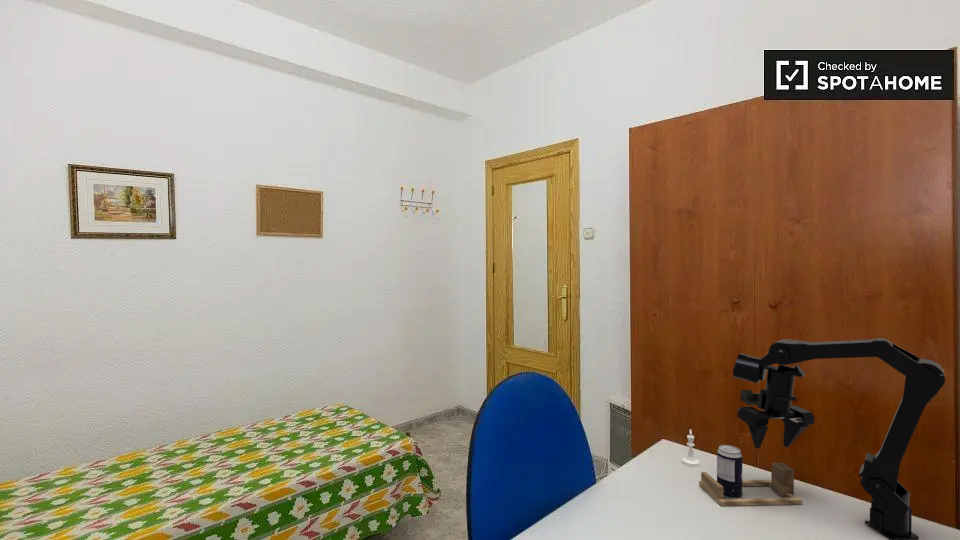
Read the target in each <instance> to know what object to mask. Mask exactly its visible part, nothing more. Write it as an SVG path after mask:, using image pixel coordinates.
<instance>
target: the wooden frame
mask: <svg viewBox="0 0 960 540" xmlns="http://www.w3.org/2000/svg"><path fill="white" fill-rule="evenodd" d="M770 463H771V462H770ZM770 466H771V470H770V471H771V477H770V478H771V479H742V487H761V486H762V487H763V486H764V487H766V486H769V487H771V491H773V492H774V493H776V494H777V495H778V496H779V497H765V498H764V497H762V498H761V497H759V498H757V497H756V498H738V499H728V498H724V497H723V486H722V485H720V484H719V483H718V482H717V479H715V478H713V477H712V476H711V475H710V474H709V473H708V472H706V471H701V473H700V474H701V475H700V476H701V477H700V479H701V480H699V481H698V485H699V486H700V487H701V488H702V489H703V490H704V491H705V492H706V493H707V494H708V495H709V496H710V497H711V498H712V499H713V500H715V502H717V503H718V504H719V505H720V506H722V507H723V506H724V507H726V506H727V507H728V506H729V507H731V506H735V507H737V506H773V505H774V506H775V505H778V506H779V505H781V506H782V505H803V499H801V497H796V496H795V492H794V491H795V469H793V468H792V467H791V466H789V465H787V464H785V463H784V462H772V463H771V465H770Z"/></svg>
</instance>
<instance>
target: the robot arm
mask: <svg viewBox="0 0 960 540" xmlns="http://www.w3.org/2000/svg"><path fill="white" fill-rule="evenodd" d="M850 358H851V359H853V358H878V359H880V360H881V361H882V362H884V363H886V364H887V365H888V366H890V367H892V369H894V370H895V371H897V372H898V373H900V374H902V375H903V376H905V378H904V379H905V380H904V388H903V393H902V394H903V395H902V398H901V400H900V402H899V405H898V406H897V407H898V408H897V409H896V412H895V414H894V416H893V419H892V421H891V423H890V426H889V429H888V431H887V432H886V433H887V434H886V435H885V438H884V440H883V442H882V444H881V446H880V447H881V448H880V449H879V451H878V452H876V453H875V455H873V454H872V453H870V452H866V455H865V458H864V463H863V464H862V465H861V466H860V469H859V473H858V476H859V477H861V479H860V480H861V481H860V484H861V485H860V486H862V488H863V489H864V491H865V492H866V493H867V494H868V495H869V496H871V498H872V499H871V501H870V502H871V503H870V507H869V520H864V524H865V525H866V526H868V527H870V528H871V529H873V530H875V531H876V532H877V533H879V534H881V535H882V536H884V537H885V538H887V539H889V540H920V537H919V535H917V534H915V533H914V532H912V523H913V522H912V520H913V519H912V514H913V513H912V509H913V508H912V506H910V498H911V492H910V491H909V490H908V489H907V488H906V487H904V485H902V483H900V482H899V475H900V474H899V473H900V467H901V462H902V460H903V458H904V455H905V453H906V451H907V449H908V446H909V444H910V441H911V439H912V437H913V435H914V433H915V430H916V429H917V426H918V424H919V421H920V419H921V416H922V414H923V412H924V409H925V407H927V405H929V403H930V402H931V401H932V400H933V399H934V398H935V396H936V395H937V394H938V393H939V392H940V391H941V389H942V388H943V386H944V385H945V382H946V374H945V370H944V368H943V367H942V365H940V364H939V363H938V362H936V361H934V360H932V359H927V358H921V357H918V356H917V355H916V354H913V353H912V352H910V351H908V350H906V349H904V348H902V347H900V346H898V345H896V344H895V343H893V342H892V341H890V340H889V339H888V338H883V337H877V338H873V339H871V338H870V339H869V338H868V339H854V340H836V341H817V342H815V341H814V342H812V341H806V340H798V339H788V338H787V339H786V338H784V339H780V340H777V341H775V342H774V343H772V344H771V345H770V346H769V348H768V353H767V354H765V355H763V356H761V358H760V357H756V356H752V355H748V354H747V353H738V354H737V359H736V361H735V363H734V366H733V370H732V376H733V378H735V379H740V380H742V381H747V382H751V383H755V384H760V382H761V381H762V382H764V381H765V379H766V383H765V384H766V385H765V388H761V389H760V391H759V392H753V391H752V389H741V390H740V391H741V392H740V394H739V395H740V396H739V397H740V400H741V402H743V403H745V406H740V407H739V408H737V415H736V417H737V418H739V419H740V420H741V421H742V422H744V423H745V424H746V425H747V426H748V429H749V431H750V436H751V439H752V442H753V446H754V448H755V449H757V450H758V449H759V450H760V447H761V446H762V443H763V442H764V439H765V437H766V434H767V432H768V430H769V426H767V425H768V424H769V421H770V420H782V422H783V425H784V426H783V440H782V441H783V442H782V443H783V446H784V447H785V448H789V447H790V446H791V445H792V444H793V443H794V441H795V440H796V439H797V438H798V437H799V436H800V435H801V434H802V433H803V432H804V431H805V430H806V429H807V428H810V426H811V425H815V415H814V413H813V412H812V411H809V410H808V409H805V408H802V407H800V406H797V405H792V402H795V401H797V396H796V395H795V394H793V393H794V387H795V379H796V377H798V378H803V377H805V375H806V372H805V371H804V370H803V369H802V368H801V367H800V365H798V363H803V362H807V361H811V360H817V359H818V360H819V359H822V360H823V359H826V360H827V359H850ZM775 364H778V366H774V365H775ZM792 364H797V365H795V366H794V367H793V366H789V365H792ZM752 405H753V406H752ZM754 406H756V408H755V407H754ZM762 410H763V411H762Z"/></svg>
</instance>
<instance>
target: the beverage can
mask: <svg viewBox="0 0 960 540" xmlns="http://www.w3.org/2000/svg"><path fill="white" fill-rule="evenodd" d="M741 451H742V450H741V449H740V448H738V447H736V446H733V445H729V444H728V445H727V444H721V445H719V446H718V449H717V451H716V481H717V482H718V483H719V484H720V485H722V486H723V498H724V499H740V497H742V496H743V486H742V480H743V455H742V453H741Z"/></svg>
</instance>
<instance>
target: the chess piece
mask: <svg viewBox="0 0 960 540" xmlns="http://www.w3.org/2000/svg"><path fill="white" fill-rule="evenodd" d="M692 431H693V430H692V429H689V431H688V432H689V434H688V435H687V436H686V438H687V440H688V442H686V445H687V446H688V451H687V456H684V457H682V458H681V463H682V464H683V465H684V466H687V467H692V468H696V467H697V468H698V467H699V466H700V465H701V464H700V461H699V460H698V459H697V458H696V457H695V455H694V448H693V447H695V446H696V445H695V443H693V442H694V440H695V436H694V435H693V433H692Z"/></svg>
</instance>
